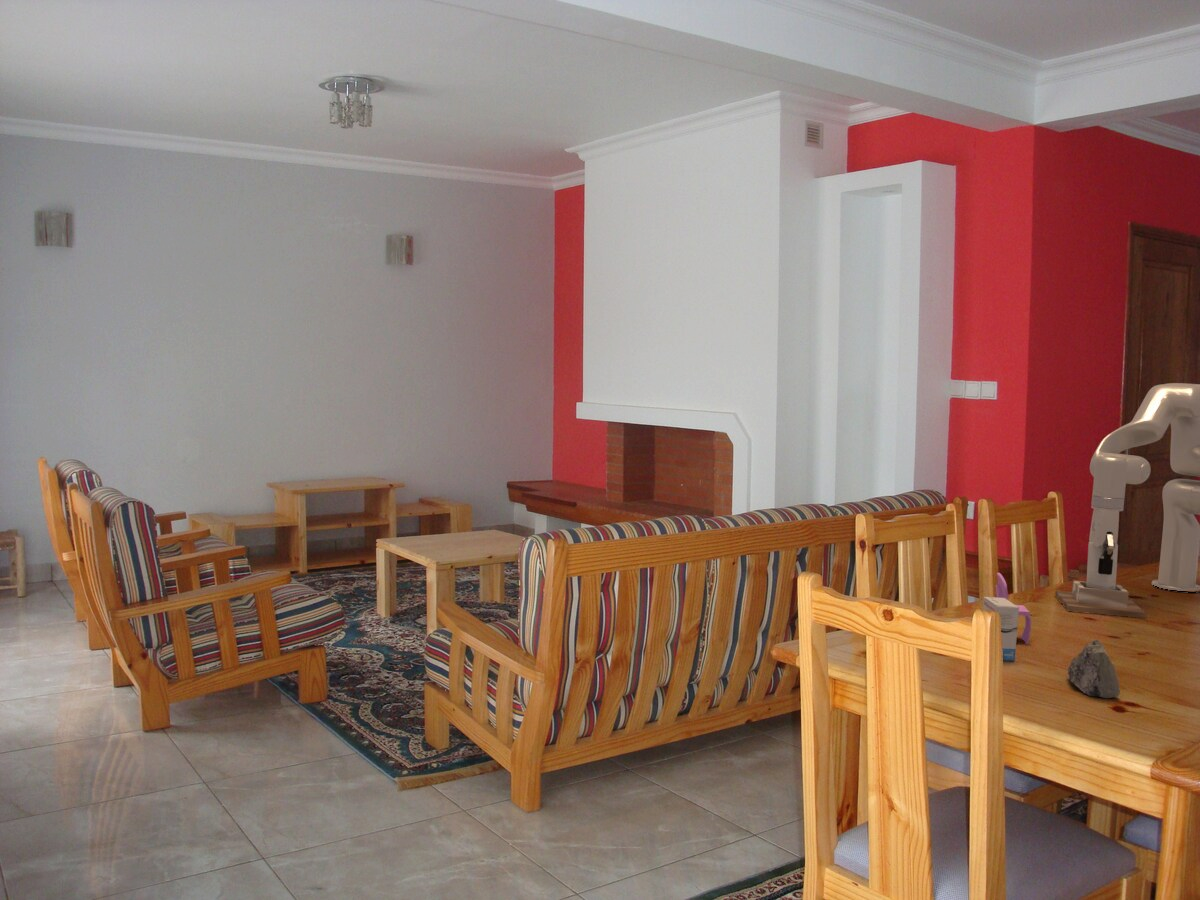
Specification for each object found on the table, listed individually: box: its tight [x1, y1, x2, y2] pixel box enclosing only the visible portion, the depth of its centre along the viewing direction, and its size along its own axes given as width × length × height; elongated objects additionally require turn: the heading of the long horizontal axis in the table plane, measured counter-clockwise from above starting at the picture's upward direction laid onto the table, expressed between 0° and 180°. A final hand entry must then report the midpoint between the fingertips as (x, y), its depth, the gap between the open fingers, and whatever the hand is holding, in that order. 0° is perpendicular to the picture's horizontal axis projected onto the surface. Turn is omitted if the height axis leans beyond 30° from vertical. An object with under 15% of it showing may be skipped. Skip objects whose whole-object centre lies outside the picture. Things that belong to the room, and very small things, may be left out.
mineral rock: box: [1067, 638, 1121, 699], centre depth 200 cm, size 13×11×10 cm
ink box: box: [982, 596, 1019, 662], centre depth 221 cm, size 8×5×12 cm, turn 179°
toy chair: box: [995, 572, 1032, 645], centre depth 234 cm, size 8×9×15 cm
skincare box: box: [1085, 541, 1119, 590], centre depth 269 cm, size 6×4×12 cm
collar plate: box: [1054, 580, 1147, 619], centre depth 270 cm, size 18×18×6 cm
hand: (1101, 570), depth 269 cm, fingers closed on skincare box, 6 cm apart
